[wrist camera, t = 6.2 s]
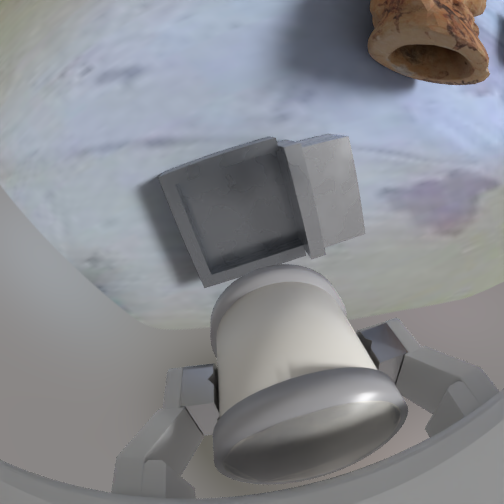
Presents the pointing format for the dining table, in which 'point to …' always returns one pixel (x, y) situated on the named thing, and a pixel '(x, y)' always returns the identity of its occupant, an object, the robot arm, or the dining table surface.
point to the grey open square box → (264, 204)
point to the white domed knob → (294, 381)
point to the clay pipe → (429, 39)
